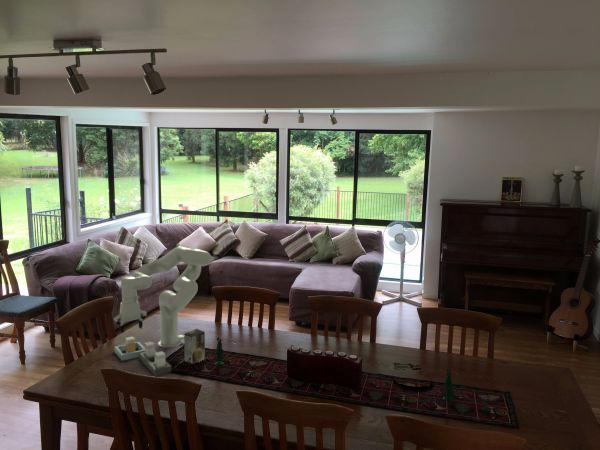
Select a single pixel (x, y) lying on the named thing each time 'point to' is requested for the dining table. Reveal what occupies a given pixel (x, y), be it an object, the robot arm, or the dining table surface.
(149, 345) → the back fuse
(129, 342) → the orange fuse
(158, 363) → the front fuse
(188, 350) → the coffee box
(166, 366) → the gray rectangular tray
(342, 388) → the dining table surface
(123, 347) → the slate tray
